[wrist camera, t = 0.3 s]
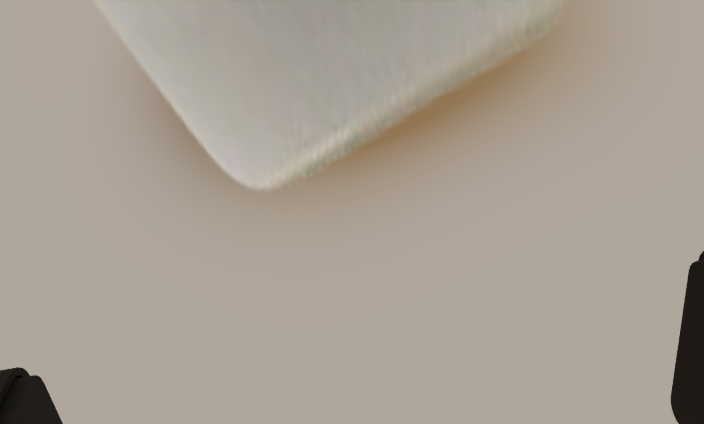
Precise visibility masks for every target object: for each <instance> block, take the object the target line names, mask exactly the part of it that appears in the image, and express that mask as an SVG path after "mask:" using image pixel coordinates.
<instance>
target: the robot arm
mask: <svg viewBox="0 0 704 424" xmlns="http://www.w3.org/2000/svg"><path fill="white" fill-rule="evenodd" d="M671 406H672V410H673V413H674V416H675V418H676V420H677V422H678V423H679V424H704V251H703V252H702V254H701V255H700V257H699V260H698V261H696V262H694V263H692V265H691V266H690V269H689V274H688V281H687V288H686V295H685V302H684V309H683V316H682V323H681V330H680V337H679V344H678V351H677V358H676V365H675V372H674V379H673V386H672V393H671ZM0 424H63V423H62V421H61V419H60V417H59V415H58V413H57V410H56V408H55V406H54V404H53V402H52V400H51V397H50V395H49V393H48V391H47V389H46V387H45V384H44V383H43V381H42V379H41V378H40V377H39V376H35V375H34V376H30V375H29V374H28V372H27V371H26V370H25V369H23V368H12V369H7V370H1V371H0Z"/></svg>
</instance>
